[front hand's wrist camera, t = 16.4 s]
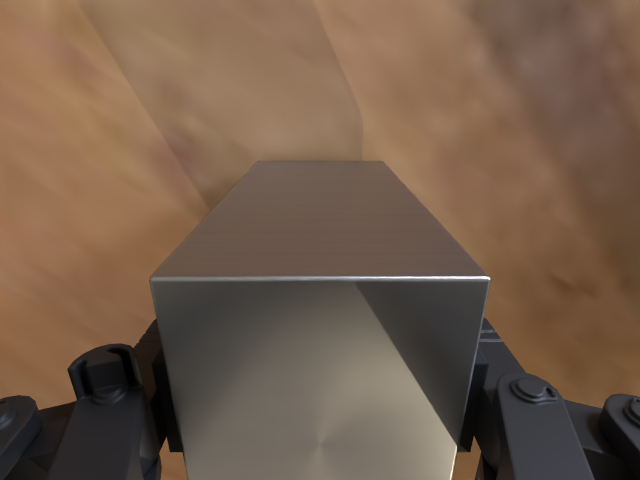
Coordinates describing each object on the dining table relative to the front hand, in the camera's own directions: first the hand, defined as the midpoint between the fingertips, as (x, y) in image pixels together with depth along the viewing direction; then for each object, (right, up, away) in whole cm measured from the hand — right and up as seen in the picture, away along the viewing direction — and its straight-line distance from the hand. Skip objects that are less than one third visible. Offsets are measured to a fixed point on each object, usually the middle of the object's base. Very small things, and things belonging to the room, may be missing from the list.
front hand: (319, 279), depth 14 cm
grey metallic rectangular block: (0, +2, +4) cm, 4 cm away
